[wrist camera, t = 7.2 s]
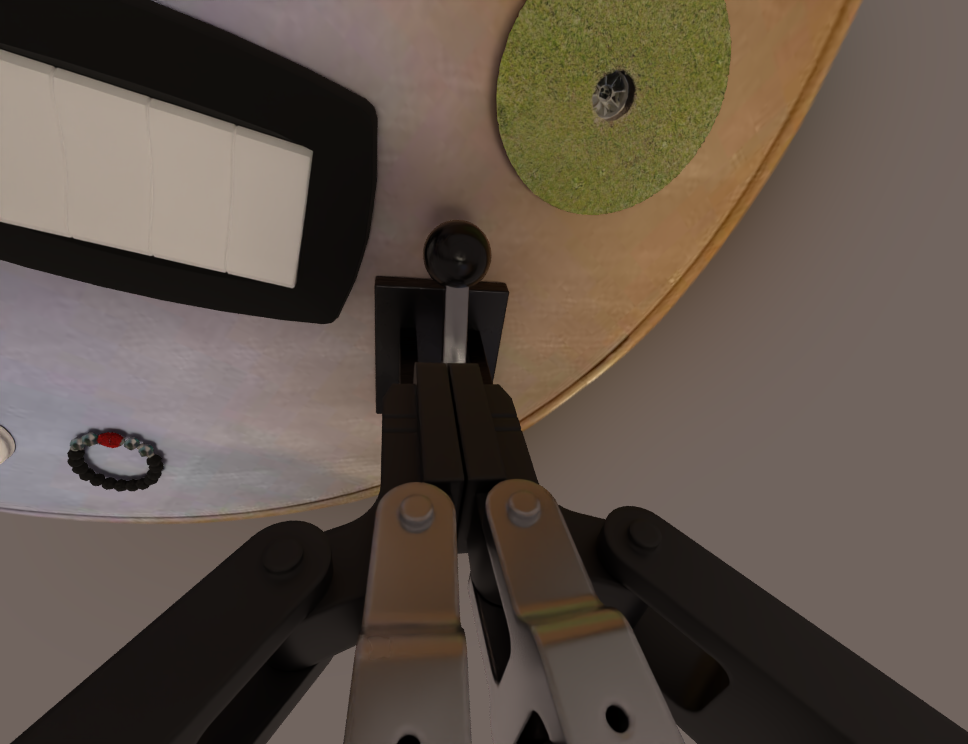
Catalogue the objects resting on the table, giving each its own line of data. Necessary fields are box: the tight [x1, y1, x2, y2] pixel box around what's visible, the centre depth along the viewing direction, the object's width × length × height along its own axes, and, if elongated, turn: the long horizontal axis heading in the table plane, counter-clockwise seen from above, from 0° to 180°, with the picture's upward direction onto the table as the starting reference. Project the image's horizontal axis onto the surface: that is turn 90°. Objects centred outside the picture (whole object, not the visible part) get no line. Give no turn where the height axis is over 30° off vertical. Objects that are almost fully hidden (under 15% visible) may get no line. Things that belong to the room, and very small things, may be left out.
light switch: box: [0, 0, 377, 324], centre depth 22 cm, size 20×3×14 cm
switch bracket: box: [375, 277, 509, 414], centre depth 27 cm, size 10×8×12 cm
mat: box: [496, 0, 731, 215], centre depth 23 cm, size 11×11×2 cm
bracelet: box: [67, 432, 164, 492], centre depth 33 cm, size 6×6×1 cm
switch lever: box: [423, 220, 491, 366], centre depth 23 cm, size 13×3×3 cm, turn 173°
